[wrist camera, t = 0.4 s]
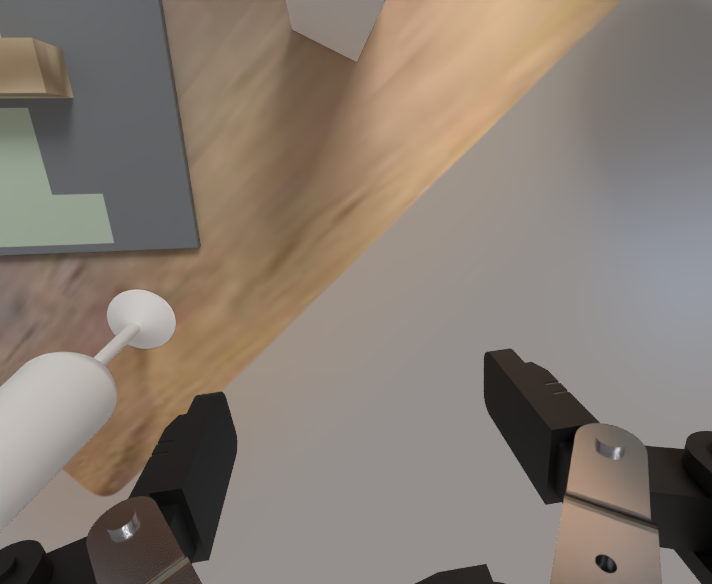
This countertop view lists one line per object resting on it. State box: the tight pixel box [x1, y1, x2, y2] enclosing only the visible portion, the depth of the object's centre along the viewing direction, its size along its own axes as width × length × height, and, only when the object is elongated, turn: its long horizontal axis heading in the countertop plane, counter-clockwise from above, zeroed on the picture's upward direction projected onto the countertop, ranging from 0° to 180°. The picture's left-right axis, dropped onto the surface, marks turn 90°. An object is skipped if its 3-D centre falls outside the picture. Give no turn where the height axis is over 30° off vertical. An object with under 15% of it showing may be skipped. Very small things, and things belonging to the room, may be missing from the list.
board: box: [0, 0, 201, 255], centre depth 33 cm, size 24×28×1 cm
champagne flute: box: [0, 289, 176, 532], centre depth 29 cm, size 7×7×24 cm
